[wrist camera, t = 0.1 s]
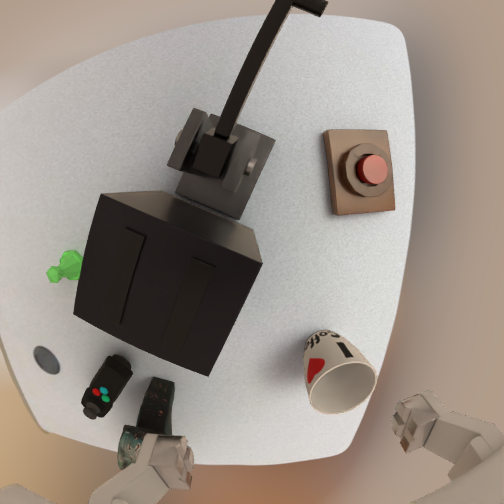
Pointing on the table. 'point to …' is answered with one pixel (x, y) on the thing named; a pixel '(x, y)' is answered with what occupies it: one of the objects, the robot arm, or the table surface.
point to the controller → (106, 386)
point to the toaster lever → (245, 88)
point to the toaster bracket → (236, 174)
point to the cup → (336, 373)
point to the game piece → (66, 267)
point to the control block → (345, 171)
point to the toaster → (166, 276)
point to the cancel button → (372, 169)
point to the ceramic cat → (148, 420)
